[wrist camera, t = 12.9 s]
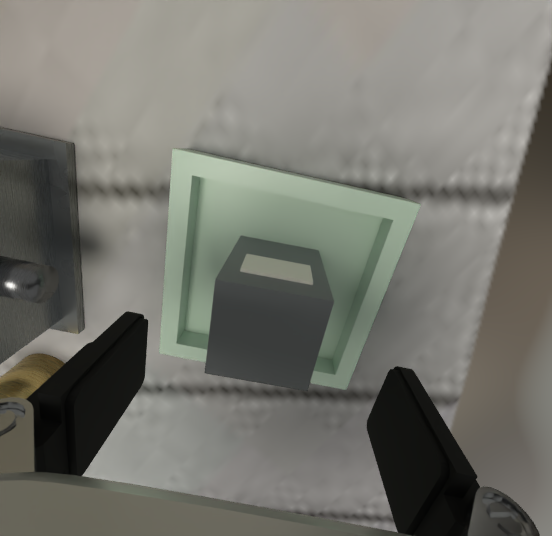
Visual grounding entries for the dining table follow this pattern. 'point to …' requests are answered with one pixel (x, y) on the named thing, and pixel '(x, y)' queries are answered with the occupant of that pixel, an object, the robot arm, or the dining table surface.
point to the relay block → (269, 314)
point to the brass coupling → (28, 375)
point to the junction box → (37, 240)
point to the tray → (283, 229)
